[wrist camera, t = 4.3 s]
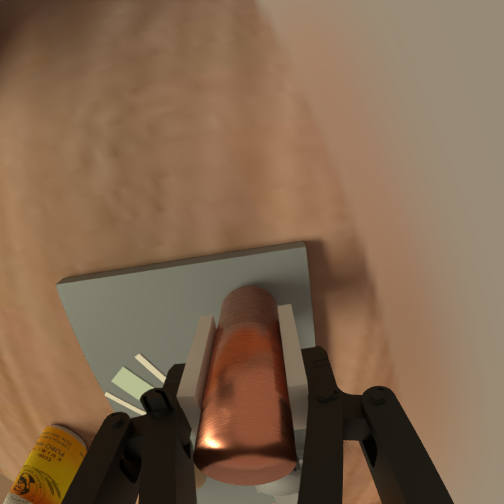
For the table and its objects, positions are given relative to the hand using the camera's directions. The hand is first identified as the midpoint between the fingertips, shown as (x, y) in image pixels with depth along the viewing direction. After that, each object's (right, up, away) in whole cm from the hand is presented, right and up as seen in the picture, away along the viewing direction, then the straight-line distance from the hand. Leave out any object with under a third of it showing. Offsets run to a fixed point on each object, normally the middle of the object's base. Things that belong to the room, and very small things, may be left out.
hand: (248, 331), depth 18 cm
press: (-3, -11, +8) cm, 14 cm away
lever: (+2, -10, +6) cm, 12 cm away
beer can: (-22, -18, +11) cm, 30 cm away
